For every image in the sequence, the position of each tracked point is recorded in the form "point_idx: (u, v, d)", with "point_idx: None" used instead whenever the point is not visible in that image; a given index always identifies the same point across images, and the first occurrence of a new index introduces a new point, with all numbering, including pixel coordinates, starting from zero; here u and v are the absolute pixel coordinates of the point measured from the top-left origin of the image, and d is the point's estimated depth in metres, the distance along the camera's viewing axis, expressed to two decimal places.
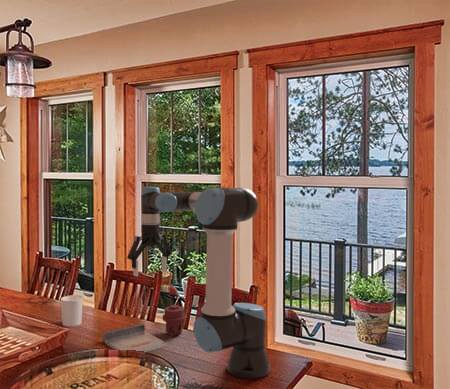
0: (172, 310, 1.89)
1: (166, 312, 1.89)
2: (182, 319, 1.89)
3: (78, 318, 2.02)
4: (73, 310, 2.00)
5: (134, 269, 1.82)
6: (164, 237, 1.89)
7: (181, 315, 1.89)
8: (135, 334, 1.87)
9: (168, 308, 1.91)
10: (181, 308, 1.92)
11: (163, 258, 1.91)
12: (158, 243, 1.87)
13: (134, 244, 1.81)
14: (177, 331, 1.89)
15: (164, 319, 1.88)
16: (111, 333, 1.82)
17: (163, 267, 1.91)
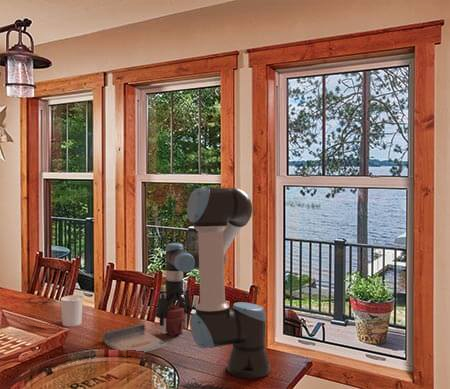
0: (172, 310, 1.89)
1: None
2: (182, 319, 1.89)
3: (78, 318, 2.02)
4: (73, 310, 2.00)
5: (162, 326, 1.89)
6: (187, 293, 1.94)
7: (181, 315, 1.89)
8: (135, 334, 1.87)
9: (168, 308, 1.91)
10: (181, 308, 1.92)
11: None
12: (181, 299, 1.92)
13: (160, 302, 1.87)
14: (177, 331, 1.89)
15: None
16: (111, 333, 1.82)
17: (183, 323, 1.95)
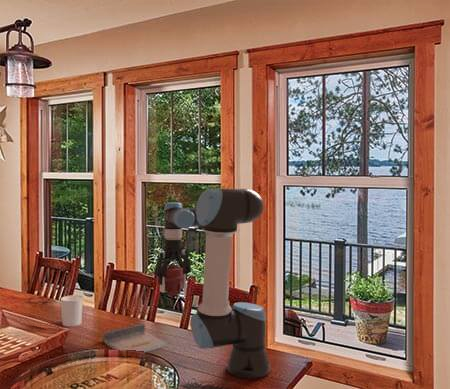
0: (171, 269, 1.87)
1: (165, 271, 1.87)
2: (181, 278, 1.87)
3: (78, 318, 2.02)
4: (73, 310, 2.00)
5: (160, 285, 1.87)
6: (186, 253, 1.93)
7: (180, 274, 1.87)
8: (135, 334, 1.87)
9: (167, 268, 1.90)
10: (180, 268, 1.90)
11: None
12: (180, 258, 1.90)
13: (158, 260, 1.85)
14: (176, 290, 1.87)
15: None
16: (111, 333, 1.82)
17: (182, 284, 1.93)
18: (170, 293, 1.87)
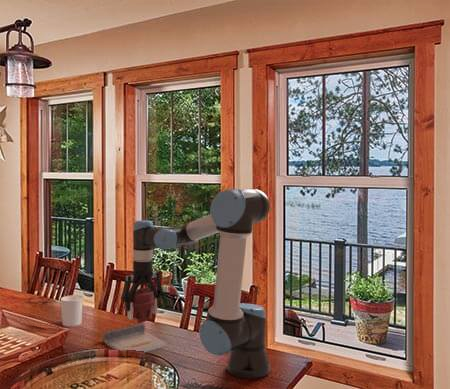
0: (140, 294, 1.71)
1: (133, 296, 1.71)
2: (151, 304, 1.71)
3: (78, 318, 2.02)
4: (73, 310, 2.00)
5: (128, 311, 1.71)
6: (157, 275, 1.76)
7: (149, 299, 1.71)
8: (135, 334, 1.87)
9: (136, 292, 1.74)
10: (150, 292, 1.74)
11: None
12: (150, 281, 1.74)
13: (126, 285, 1.69)
14: (145, 317, 1.71)
15: None
16: (111, 333, 1.82)
17: (153, 309, 1.77)
18: (139, 320, 1.71)
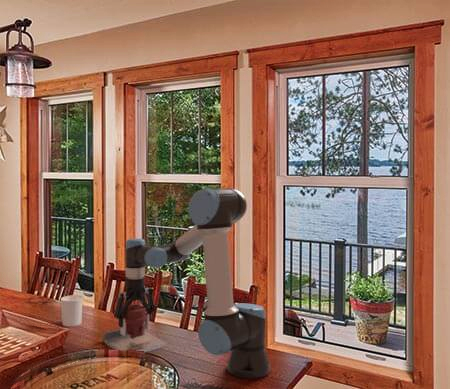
0: (132, 310, 1.76)
1: (126, 312, 1.76)
2: (143, 320, 1.76)
3: (78, 318, 2.02)
4: (73, 310, 2.00)
5: (121, 327, 1.76)
6: (149, 292, 1.82)
7: (142, 315, 1.77)
8: None
9: (128, 308, 1.79)
10: (142, 308, 1.79)
11: None
12: (142, 298, 1.79)
13: (119, 302, 1.74)
14: (137, 333, 1.76)
15: None
16: (111, 333, 1.82)
17: (146, 324, 1.82)
18: (131, 336, 1.76)
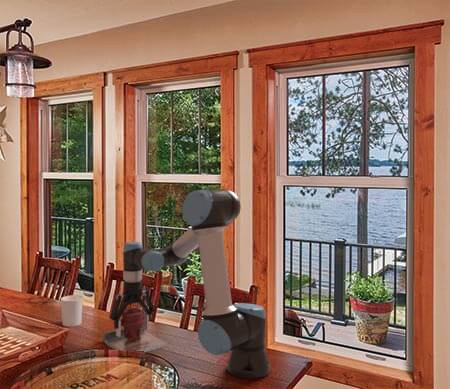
0: (130, 314, 1.78)
1: (123, 316, 1.78)
2: (140, 323, 1.78)
3: (78, 318, 2.02)
4: (73, 310, 2.00)
5: (117, 329, 1.77)
6: (147, 294, 1.83)
7: (139, 319, 1.78)
8: None
9: (126, 312, 1.80)
10: (140, 311, 1.81)
11: (145, 315, 1.84)
12: (140, 300, 1.81)
13: (116, 303, 1.76)
14: (135, 336, 1.78)
15: (121, 323, 1.78)
16: (111, 333, 1.82)
17: (145, 325, 1.85)
18: (129, 339, 1.78)
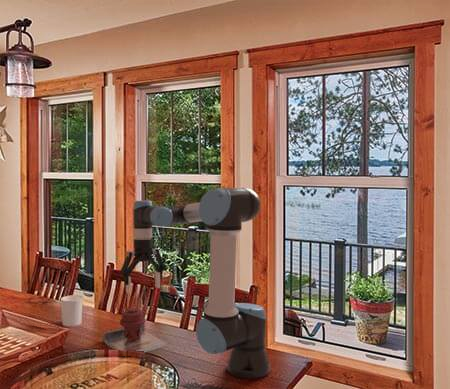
0: (130, 314, 1.78)
1: (123, 316, 1.78)
2: (140, 323, 1.78)
3: (78, 318, 2.02)
4: (73, 310, 2.00)
5: (127, 286, 1.77)
6: (157, 252, 1.84)
7: (139, 319, 1.78)
8: None
9: (126, 311, 1.81)
10: (140, 311, 1.81)
11: (156, 273, 1.85)
12: (151, 258, 1.82)
13: (126, 260, 1.76)
14: (135, 336, 1.78)
15: (121, 323, 1.78)
16: (111, 333, 1.82)
17: (157, 283, 1.85)
18: (129, 339, 1.78)
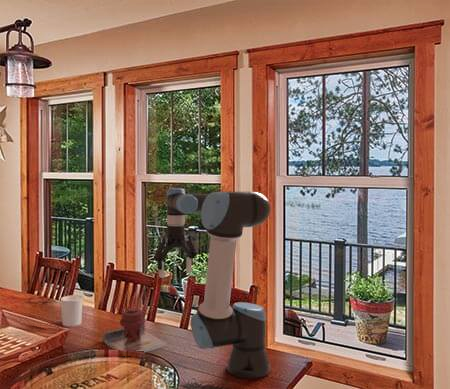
0: (130, 314, 1.78)
1: (123, 316, 1.78)
2: (140, 323, 1.78)
3: (78, 318, 2.02)
4: (73, 310, 2.00)
5: (160, 270, 1.82)
6: (189, 238, 1.89)
7: (139, 319, 1.78)
8: None
9: (126, 311, 1.81)
10: (140, 311, 1.81)
11: (188, 259, 1.90)
12: (183, 244, 1.87)
13: (160, 245, 1.81)
14: (135, 336, 1.78)
15: (121, 323, 1.78)
16: (111, 333, 1.82)
17: (188, 268, 1.90)
18: (129, 339, 1.78)
